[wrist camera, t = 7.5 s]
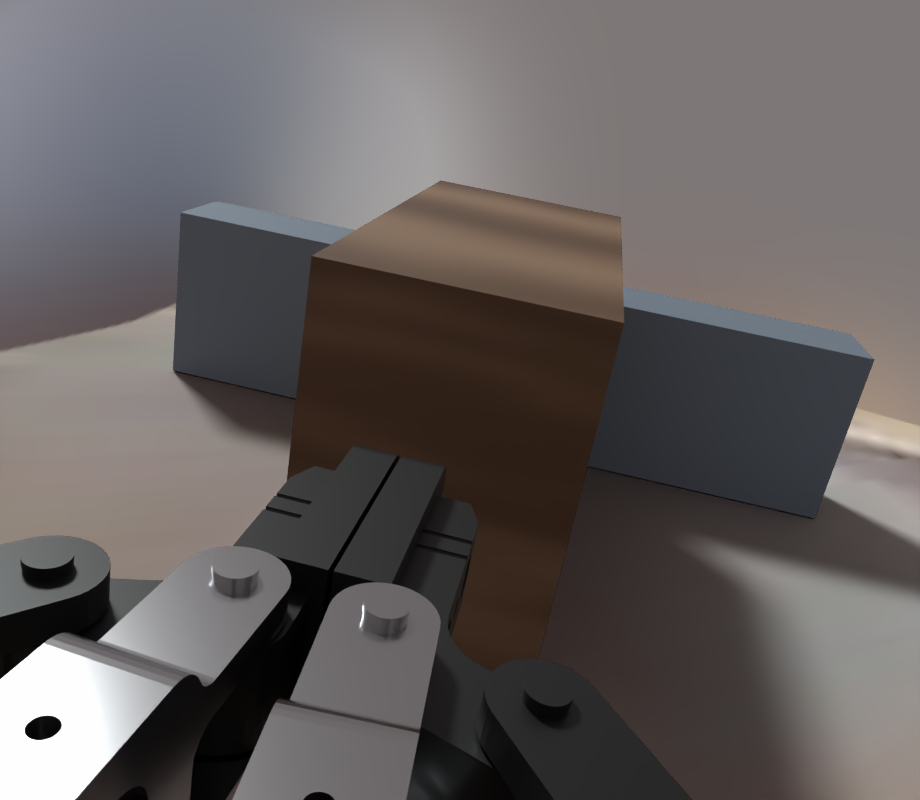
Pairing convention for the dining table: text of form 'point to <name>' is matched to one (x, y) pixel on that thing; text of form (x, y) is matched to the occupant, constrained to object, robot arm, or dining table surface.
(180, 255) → the grey board
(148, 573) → the dining table surface
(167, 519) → the dining table surface
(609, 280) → the walnut block
